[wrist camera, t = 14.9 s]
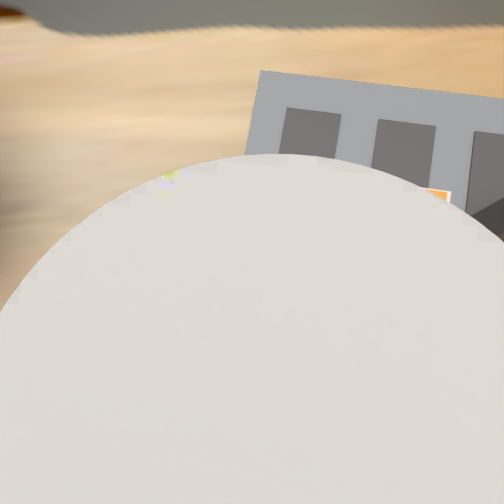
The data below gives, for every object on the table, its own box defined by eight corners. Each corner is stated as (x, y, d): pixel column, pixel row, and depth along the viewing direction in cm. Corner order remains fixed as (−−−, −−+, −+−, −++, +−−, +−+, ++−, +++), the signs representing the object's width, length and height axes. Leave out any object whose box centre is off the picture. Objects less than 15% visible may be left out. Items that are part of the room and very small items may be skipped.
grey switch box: (235, 251, 32) (215, 225, 23) (264, 99, 33) (254, 20, 25) (522, 299, 30) (622, 290, 21) (538, 133, 31) (636, 60, 22)
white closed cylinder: (422, 316, 17) (726, 292, 5) (346, 524, 16) (501, 1099, 4) (231, 239, 18) (114, 76, 6) (149, 428, 17) (-172, 656, 5)
